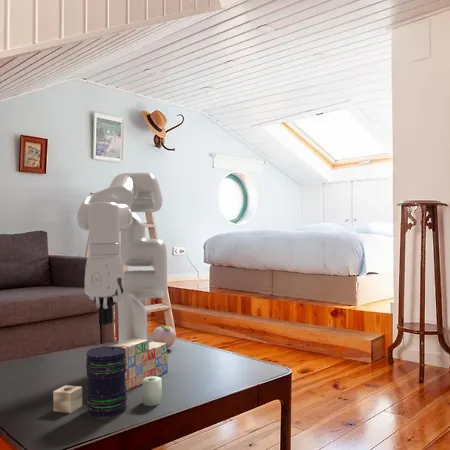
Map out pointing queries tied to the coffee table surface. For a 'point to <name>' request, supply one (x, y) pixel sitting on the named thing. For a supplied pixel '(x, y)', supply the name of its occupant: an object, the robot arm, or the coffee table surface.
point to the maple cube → (67, 398)
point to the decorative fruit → (164, 335)
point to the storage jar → (106, 382)
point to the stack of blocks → (143, 360)
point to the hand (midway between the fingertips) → (105, 323)
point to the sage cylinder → (152, 391)
